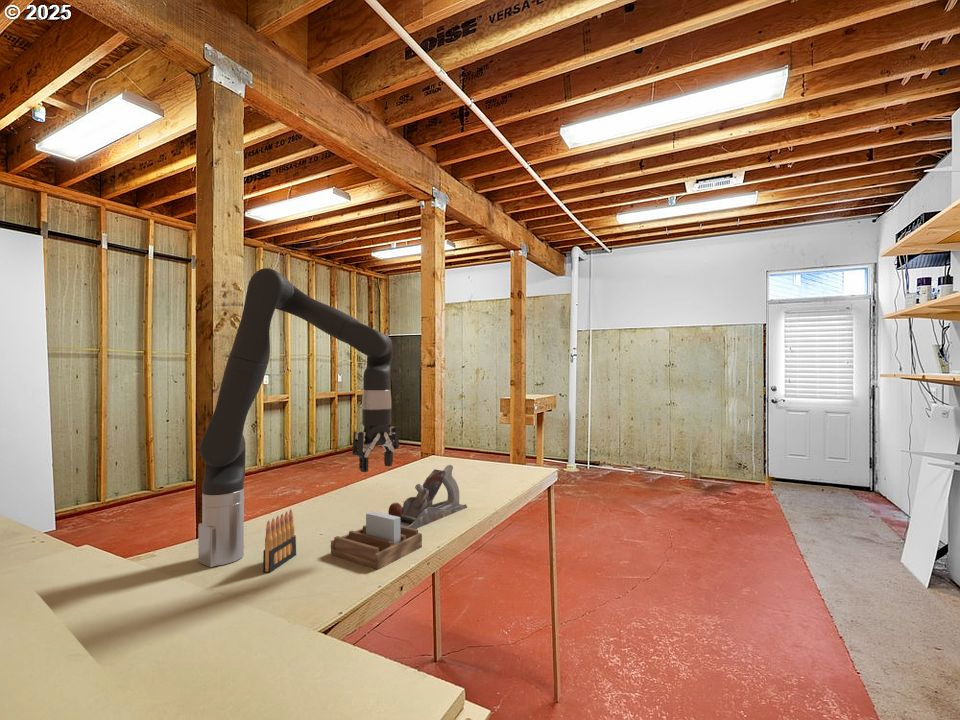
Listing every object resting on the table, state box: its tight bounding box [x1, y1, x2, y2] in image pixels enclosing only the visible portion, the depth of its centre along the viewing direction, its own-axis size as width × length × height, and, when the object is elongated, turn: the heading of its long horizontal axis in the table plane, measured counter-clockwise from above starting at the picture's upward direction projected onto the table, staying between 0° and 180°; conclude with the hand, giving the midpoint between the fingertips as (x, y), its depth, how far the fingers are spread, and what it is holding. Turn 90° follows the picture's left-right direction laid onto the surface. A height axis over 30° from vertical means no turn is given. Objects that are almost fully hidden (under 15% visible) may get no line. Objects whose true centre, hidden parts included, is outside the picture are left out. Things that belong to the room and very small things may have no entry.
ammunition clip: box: [262, 508, 297, 574], centre depth 112 cm, size 11×2×12 cm, turn 169°
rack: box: [330, 524, 423, 570], centre depth 119 cm, size 16×17×4 cm
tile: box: [365, 510, 401, 545], centre depth 118 cm, size 2×10×8 cm, turn 57°
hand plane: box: [387, 464, 468, 530], centre depth 145 cm, size 9×33×15 cm, turn 144°
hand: (376, 468), depth 119 cm, fingers open, 8 cm apart
